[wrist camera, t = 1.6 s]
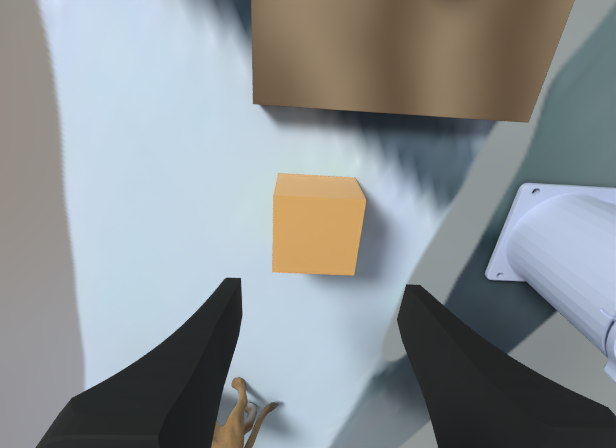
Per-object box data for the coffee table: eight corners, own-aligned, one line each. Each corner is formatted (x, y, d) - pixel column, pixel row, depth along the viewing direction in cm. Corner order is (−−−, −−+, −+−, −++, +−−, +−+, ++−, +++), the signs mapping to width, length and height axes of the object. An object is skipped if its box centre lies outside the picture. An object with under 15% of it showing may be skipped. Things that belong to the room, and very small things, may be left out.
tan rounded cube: (354, 177, 21) (366, 200, 17) (345, 243, 23) (354, 275, 19) (278, 173, 20) (273, 195, 17) (276, 240, 23) (272, 272, 19)
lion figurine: (127, 382, 30) (63, 499, 22) (134, 346, 27) (65, 461, 19) (271, 412, 32) (261, 526, 24) (288, 381, 30) (283, 495, 22)
